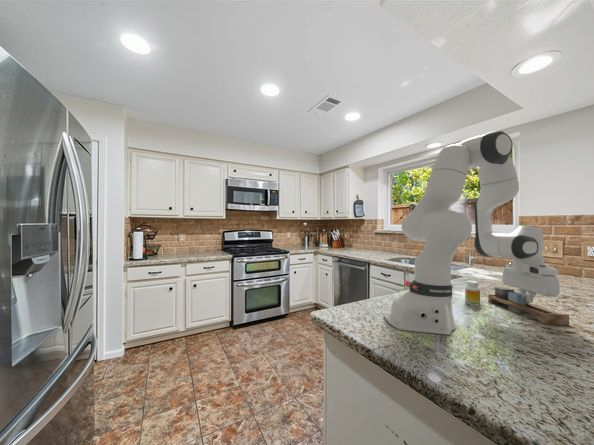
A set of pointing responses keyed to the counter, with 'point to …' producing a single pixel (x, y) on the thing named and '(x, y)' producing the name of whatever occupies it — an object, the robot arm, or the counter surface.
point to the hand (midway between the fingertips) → (527, 301)
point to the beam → (528, 308)
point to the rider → (516, 298)
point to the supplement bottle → (472, 293)
